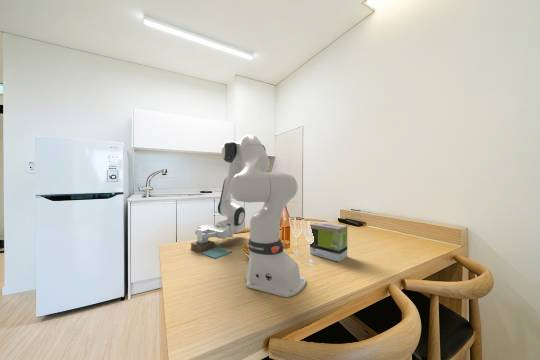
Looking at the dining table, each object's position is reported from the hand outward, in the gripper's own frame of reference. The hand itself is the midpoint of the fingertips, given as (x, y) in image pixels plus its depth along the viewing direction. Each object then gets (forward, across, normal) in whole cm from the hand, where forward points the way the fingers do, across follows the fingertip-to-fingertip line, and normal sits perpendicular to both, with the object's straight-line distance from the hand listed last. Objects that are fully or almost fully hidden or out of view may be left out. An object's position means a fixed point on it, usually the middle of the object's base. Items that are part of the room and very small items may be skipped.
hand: (201, 234), depth 105 cm
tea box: (-31, +56, +8) cm, 64 cm away
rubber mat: (-1, +11, +8) cm, 13 cm away
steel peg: (-1, 0, +8) cm, 8 cm away
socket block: (-1, 0, +8) cm, 8 cm away
